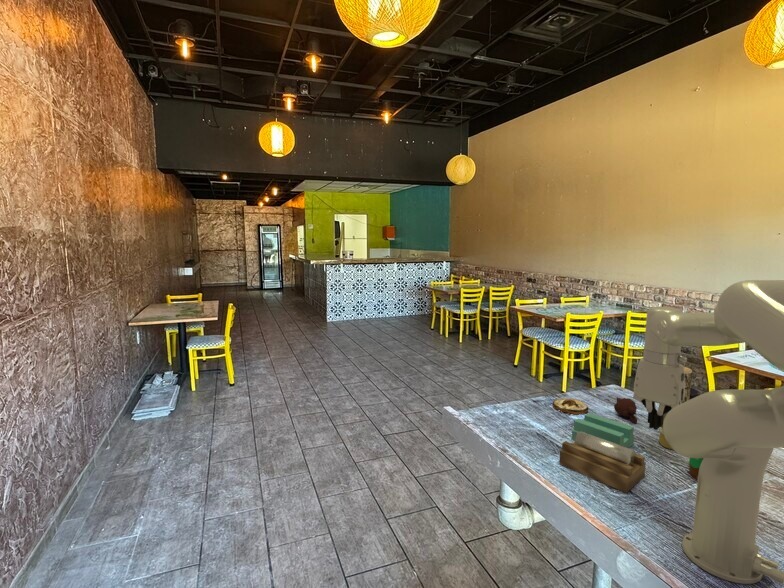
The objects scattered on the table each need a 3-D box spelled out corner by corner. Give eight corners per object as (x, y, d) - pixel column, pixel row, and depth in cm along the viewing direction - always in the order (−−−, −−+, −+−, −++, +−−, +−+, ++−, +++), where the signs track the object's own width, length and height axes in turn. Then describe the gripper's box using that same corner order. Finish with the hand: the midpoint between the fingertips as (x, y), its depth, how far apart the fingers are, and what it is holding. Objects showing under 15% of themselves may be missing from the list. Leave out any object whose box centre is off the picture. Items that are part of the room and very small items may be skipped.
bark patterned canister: (689, 452, 124) (696, 372, 121) (664, 450, 125) (671, 371, 122) (678, 441, 131) (685, 365, 127) (655, 439, 132) (661, 364, 129)
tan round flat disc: (586, 403, 163) (586, 393, 162) (595, 419, 148) (596, 408, 148) (546, 400, 166) (547, 390, 166) (552, 415, 152) (553, 404, 151)
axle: (634, 463, 110) (634, 446, 109) (626, 472, 107) (627, 455, 106) (582, 443, 121) (582, 428, 119) (574, 451, 118) (574, 435, 116)
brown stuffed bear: (605, 391, 157) (622, 410, 143) (625, 387, 156) (644, 406, 141) (608, 407, 158) (625, 428, 144) (628, 404, 157) (647, 424, 143)
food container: (685, 461, 119) (688, 428, 117) (712, 469, 115) (716, 435, 114) (682, 480, 109) (685, 445, 108) (711, 489, 105) (714, 452, 104)
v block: (633, 444, 129) (635, 426, 128) (617, 456, 121) (618, 437, 121) (589, 428, 140) (590, 412, 139) (571, 439, 132) (572, 421, 131)
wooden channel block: (644, 476, 111) (646, 455, 111) (626, 493, 104) (628, 470, 103) (579, 450, 125) (580, 431, 124) (559, 463, 118) (560, 444, 117)
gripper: (702, 361, 97) (694, 433, 100) (634, 348, 109) (628, 413, 111) (692, 367, 93) (684, 443, 95) (622, 353, 104) (617, 421, 107)
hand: (654, 427), depth 103 cm, fingers closed
